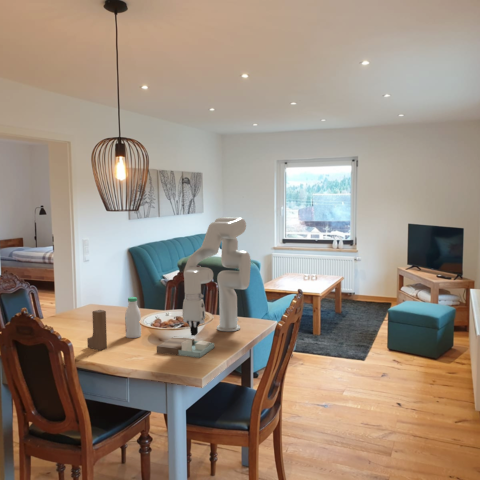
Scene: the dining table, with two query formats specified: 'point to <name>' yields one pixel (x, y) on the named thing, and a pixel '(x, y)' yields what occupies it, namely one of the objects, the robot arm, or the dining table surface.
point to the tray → (196, 351)
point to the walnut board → (172, 346)
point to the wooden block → (98, 331)
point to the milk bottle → (132, 319)
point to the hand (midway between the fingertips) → (194, 334)
